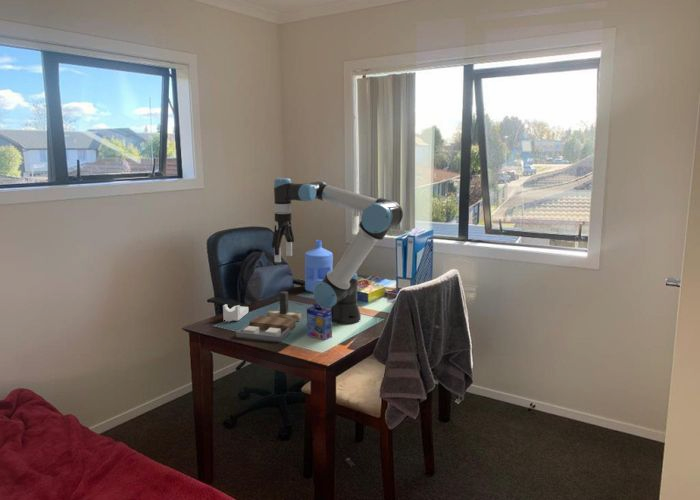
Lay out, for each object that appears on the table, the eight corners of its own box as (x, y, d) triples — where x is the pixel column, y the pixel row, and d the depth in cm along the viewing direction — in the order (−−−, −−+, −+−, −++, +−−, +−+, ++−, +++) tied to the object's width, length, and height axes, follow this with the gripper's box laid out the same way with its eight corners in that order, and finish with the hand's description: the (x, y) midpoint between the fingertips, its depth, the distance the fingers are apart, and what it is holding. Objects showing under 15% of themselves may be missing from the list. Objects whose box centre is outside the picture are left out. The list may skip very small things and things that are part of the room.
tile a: (280, 334, 229) (280, 328, 229) (276, 338, 225) (276, 332, 224) (270, 333, 231) (270, 327, 230) (265, 337, 226) (265, 331, 225)
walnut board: (295, 326, 240) (295, 319, 240) (287, 333, 232) (287, 325, 231) (258, 322, 245) (258, 315, 244) (249, 329, 237) (249, 321, 236)
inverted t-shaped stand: (301, 319, 251) (301, 292, 248) (299, 321, 248) (298, 294, 245) (269, 316, 255) (269, 290, 252) (267, 318, 252) (266, 291, 249)
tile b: (259, 332, 231) (259, 327, 231) (254, 336, 226) (254, 330, 226) (248, 331, 232) (248, 325, 232) (243, 335, 228) (243, 329, 227)
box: (289, 333, 232) (289, 328, 231) (280, 342, 221) (279, 337, 221) (247, 329, 237) (247, 323, 236) (236, 337, 226) (235, 332, 226)
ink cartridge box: (306, 335, 230) (305, 303, 227) (314, 332, 234) (314, 300, 231) (324, 340, 224) (324, 307, 221) (332, 336, 229) (332, 304, 226)
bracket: (238, 322, 246) (237, 306, 245) (223, 321, 247) (223, 305, 246) (248, 313, 259) (248, 298, 257) (234, 312, 260) (234, 297, 258)
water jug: (309, 285, 311) (309, 237, 305) (335, 286, 307) (336, 238, 302) (301, 292, 296) (300, 242, 290) (328, 294, 292) (328, 243, 287)
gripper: (285, 209, 254) (286, 253, 258) (263, 215, 231) (264, 264, 235) (300, 209, 252) (300, 254, 256) (279, 216, 229) (280, 265, 233)
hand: (283, 258), depth 246 cm, fingers open, 13 cm apart
